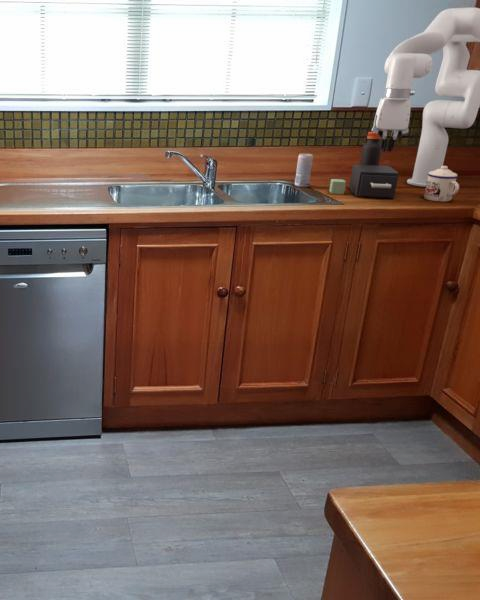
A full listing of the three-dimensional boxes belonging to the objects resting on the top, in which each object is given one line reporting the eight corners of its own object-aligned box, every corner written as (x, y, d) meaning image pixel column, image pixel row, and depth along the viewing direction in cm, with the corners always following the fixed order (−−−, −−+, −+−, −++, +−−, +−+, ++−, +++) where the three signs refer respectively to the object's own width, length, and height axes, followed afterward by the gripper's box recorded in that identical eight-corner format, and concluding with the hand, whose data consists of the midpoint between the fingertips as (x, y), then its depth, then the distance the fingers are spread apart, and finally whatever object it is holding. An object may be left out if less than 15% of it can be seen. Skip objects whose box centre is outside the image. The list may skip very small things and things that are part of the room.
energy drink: (307, 184, 238) (311, 153, 234) (310, 187, 233) (315, 155, 229) (293, 184, 239) (297, 153, 234) (296, 187, 234) (300, 155, 229)
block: (329, 190, 228) (331, 179, 226) (341, 191, 227) (343, 179, 225) (331, 193, 224) (333, 181, 222) (344, 194, 223) (346, 181, 221)
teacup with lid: (416, 197, 218) (423, 164, 214) (437, 195, 221) (444, 163, 216) (443, 204, 208) (451, 170, 203) (464, 203, 210) (473, 169, 206)
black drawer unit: (397, 200, 210) (401, 179, 207) (361, 198, 212) (365, 177, 210) (384, 189, 226) (388, 169, 224) (352, 187, 229) (355, 168, 226)
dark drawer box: (393, 198, 216) (399, 173, 213) (356, 197, 219) (360, 171, 215) (384, 190, 229) (389, 165, 226) (348, 188, 232) (352, 164, 228)
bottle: (353, 185, 237) (362, 132, 230) (359, 182, 242) (368, 130, 235) (371, 187, 233) (381, 134, 226) (377, 184, 238) (387, 132, 230)
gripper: (418, 94, 203) (407, 150, 210) (369, 93, 206) (359, 148, 213) (425, 95, 196) (413, 153, 203) (374, 94, 199) (364, 151, 206)
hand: (386, 150), depth 208 cm, fingers closed
